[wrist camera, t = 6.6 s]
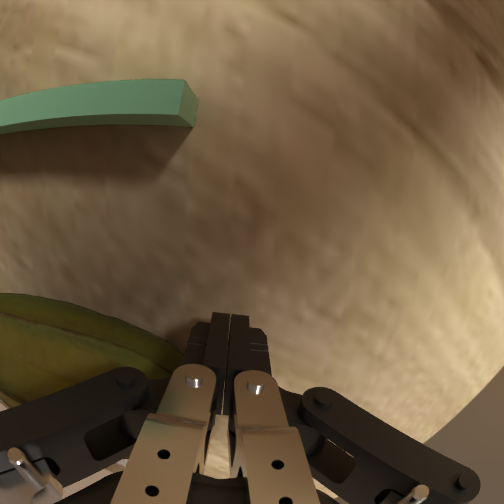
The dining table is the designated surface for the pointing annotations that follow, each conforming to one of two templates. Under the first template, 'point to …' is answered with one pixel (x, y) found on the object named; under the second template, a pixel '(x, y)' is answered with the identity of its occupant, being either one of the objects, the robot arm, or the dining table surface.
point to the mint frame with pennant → (102, 105)
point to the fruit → (69, 347)
